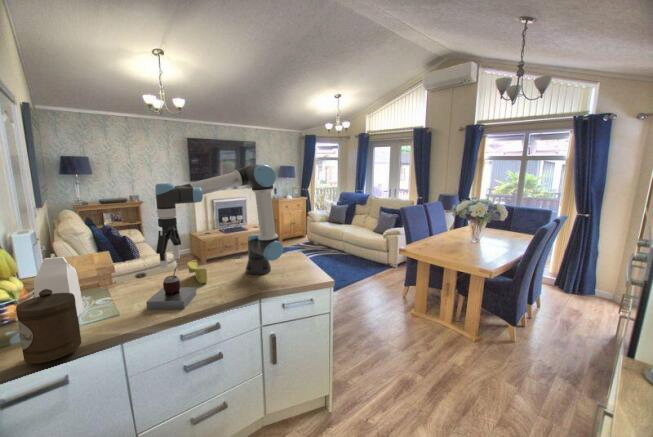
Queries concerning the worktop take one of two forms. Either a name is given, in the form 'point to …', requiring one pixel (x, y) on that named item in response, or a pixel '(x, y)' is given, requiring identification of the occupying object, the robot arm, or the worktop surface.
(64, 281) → the milk
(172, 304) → the stand
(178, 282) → the mate gourd
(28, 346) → the wooden container
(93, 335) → the worktop surface
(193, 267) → the plastic component
